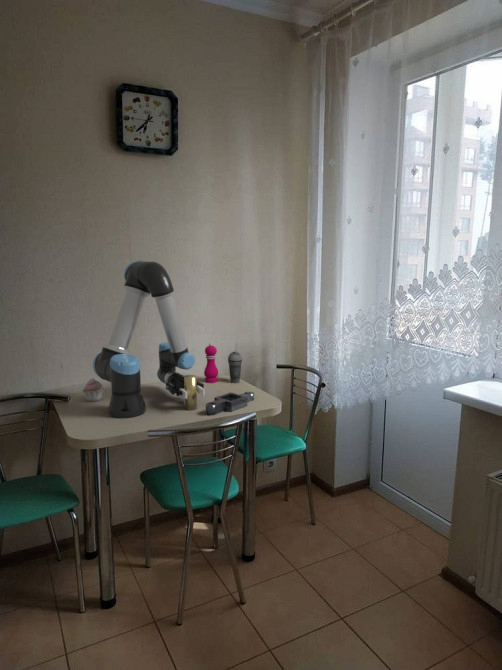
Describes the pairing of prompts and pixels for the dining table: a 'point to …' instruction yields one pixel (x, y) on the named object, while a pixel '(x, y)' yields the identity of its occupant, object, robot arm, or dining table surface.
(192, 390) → the gold tall cylinder
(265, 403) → the dining table surface
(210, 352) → the pepper mill
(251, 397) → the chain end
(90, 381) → the cupcake
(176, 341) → the robot arm
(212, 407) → the chain end
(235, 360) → the beverage cup
